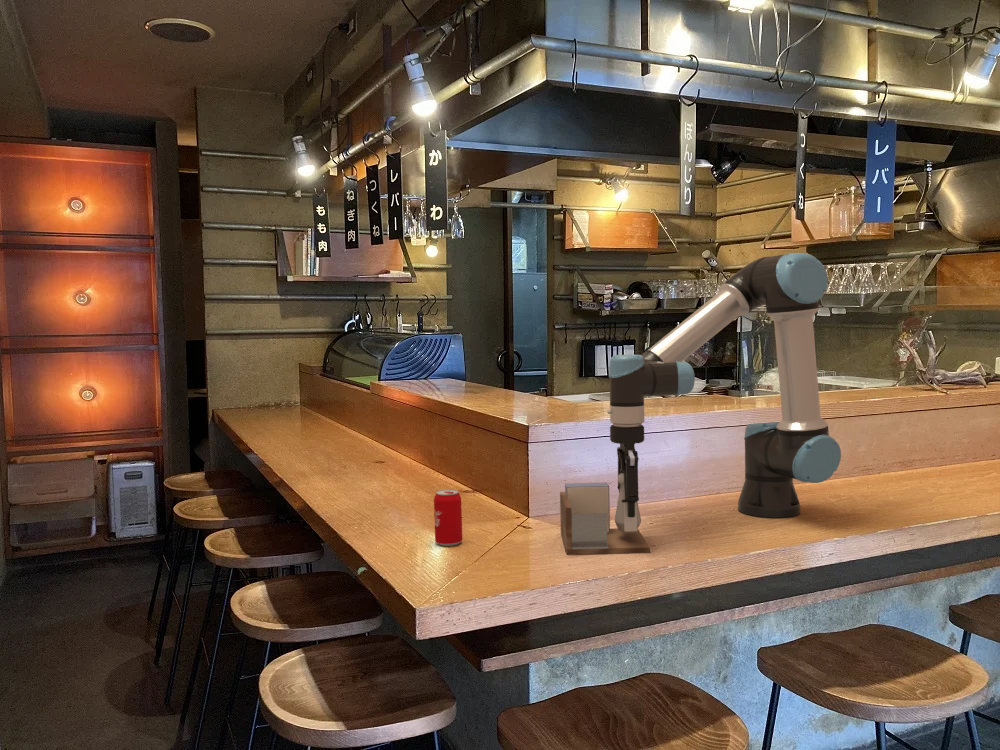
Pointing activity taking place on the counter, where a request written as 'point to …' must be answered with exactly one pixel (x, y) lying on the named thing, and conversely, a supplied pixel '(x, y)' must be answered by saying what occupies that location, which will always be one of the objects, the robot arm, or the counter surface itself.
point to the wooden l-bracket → (615, 538)
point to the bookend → (589, 531)
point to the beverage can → (448, 517)
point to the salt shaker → (620, 508)
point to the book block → (589, 498)
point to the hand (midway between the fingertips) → (628, 526)
